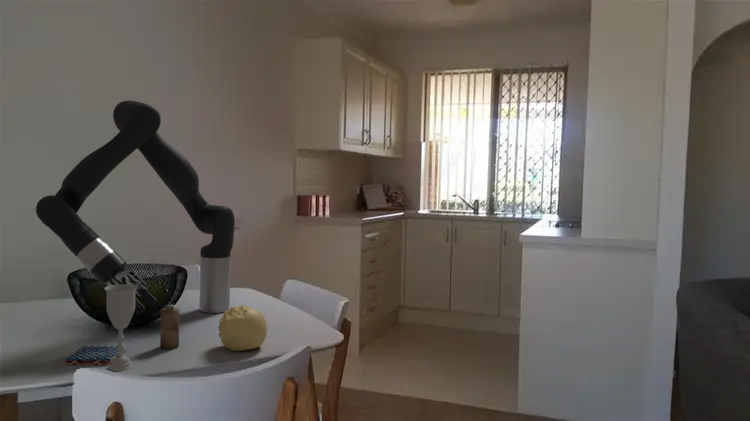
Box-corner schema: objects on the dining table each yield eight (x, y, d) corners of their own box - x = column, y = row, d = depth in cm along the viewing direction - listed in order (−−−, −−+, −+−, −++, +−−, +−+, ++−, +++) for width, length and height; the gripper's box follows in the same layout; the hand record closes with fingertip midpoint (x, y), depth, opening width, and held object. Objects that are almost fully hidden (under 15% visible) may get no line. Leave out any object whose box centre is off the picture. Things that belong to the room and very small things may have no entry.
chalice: (110, 361, 136) (111, 284, 135) (141, 362, 137) (142, 284, 136) (98, 372, 129) (99, 290, 128) (130, 372, 130) (131, 291, 128)
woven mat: (62, 367, 133) (62, 358, 133) (81, 353, 143) (81, 344, 143) (110, 367, 134) (110, 358, 134) (126, 353, 144) (126, 345, 144)
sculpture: (217, 342, 155) (218, 301, 154) (264, 340, 158) (265, 300, 157) (218, 355, 144) (219, 311, 143) (268, 353, 147) (269, 310, 146)
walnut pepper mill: (163, 344, 151) (164, 303, 151) (180, 344, 151) (181, 303, 151) (157, 349, 147) (158, 307, 146) (175, 349, 147) (176, 307, 146)
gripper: (100, 254, 140) (149, 303, 141) (124, 246, 154) (168, 291, 155) (77, 275, 140) (126, 325, 141) (103, 266, 154) (147, 311, 156)
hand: (148, 307), depth 148 cm, fingers open, 8 cm apart
